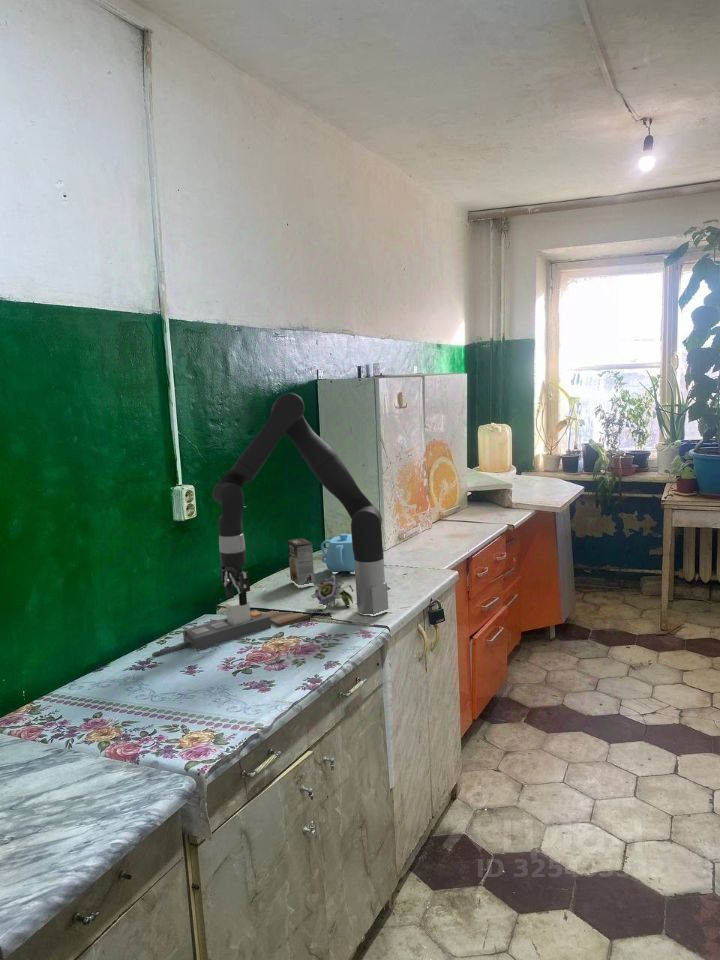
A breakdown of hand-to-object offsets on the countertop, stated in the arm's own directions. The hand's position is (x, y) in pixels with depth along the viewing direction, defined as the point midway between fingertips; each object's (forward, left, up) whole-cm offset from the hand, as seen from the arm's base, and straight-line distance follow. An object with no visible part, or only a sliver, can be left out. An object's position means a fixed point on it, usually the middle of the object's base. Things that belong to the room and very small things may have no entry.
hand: (236, 601), depth 205 cm
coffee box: (+25, -38, -9) cm, 46 cm away
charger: (0, +1, -7) cm, 7 cm away
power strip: (0, +10, -9) cm, 13 cm away
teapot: (+26, -60, -9) cm, 66 cm away
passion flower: (-2, -33, -9) cm, 34 cm away
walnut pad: (0, -16, -9) cm, 18 cm away
